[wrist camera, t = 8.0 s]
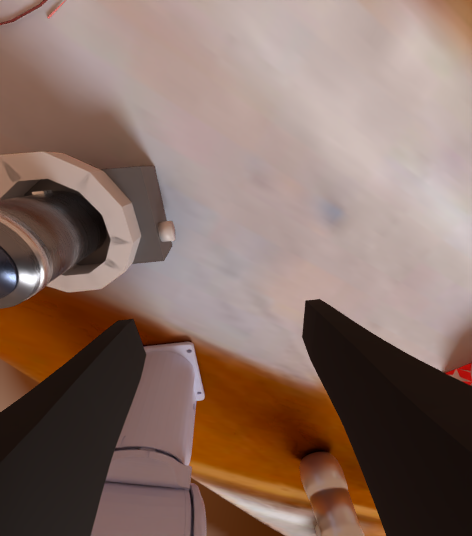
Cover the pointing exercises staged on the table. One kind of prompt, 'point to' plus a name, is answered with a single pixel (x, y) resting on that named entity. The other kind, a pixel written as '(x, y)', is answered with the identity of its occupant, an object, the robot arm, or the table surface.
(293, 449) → the table surface
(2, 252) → the lens
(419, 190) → the table surface
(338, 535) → the plastic bottle
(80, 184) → the camera body
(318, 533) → the lumpy-topped squat cylinder
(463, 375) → the red patterned gift box
